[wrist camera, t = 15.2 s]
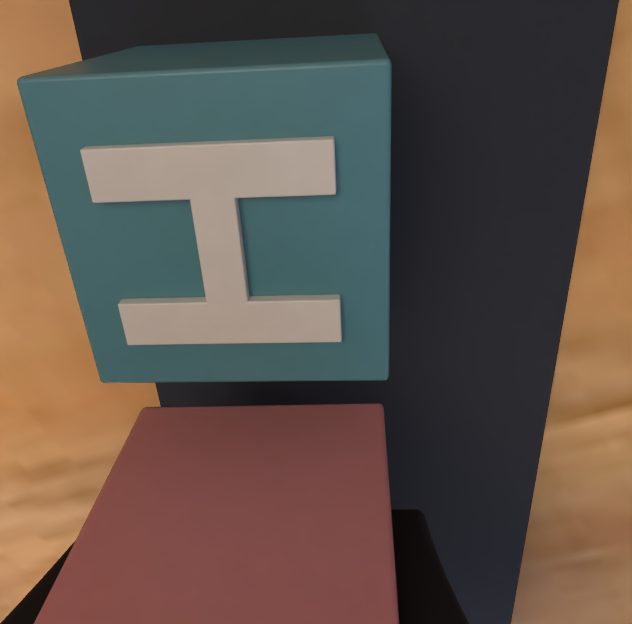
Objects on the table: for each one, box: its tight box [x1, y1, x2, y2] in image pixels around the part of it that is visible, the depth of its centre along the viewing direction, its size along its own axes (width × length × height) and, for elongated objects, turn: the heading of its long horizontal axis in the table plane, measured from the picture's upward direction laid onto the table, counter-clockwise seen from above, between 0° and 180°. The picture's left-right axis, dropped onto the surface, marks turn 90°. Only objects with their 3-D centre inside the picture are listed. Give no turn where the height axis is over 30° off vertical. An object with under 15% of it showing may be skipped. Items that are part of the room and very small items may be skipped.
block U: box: [34, 403, 399, 624], centre depth 10 cm, size 5×5×5 cm
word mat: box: [69, 0, 619, 624], centre depth 15 cm, size 10×23×1 cm, turn 3°
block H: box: [17, 33, 392, 383], centre depth 10 cm, size 5×5×5 cm
